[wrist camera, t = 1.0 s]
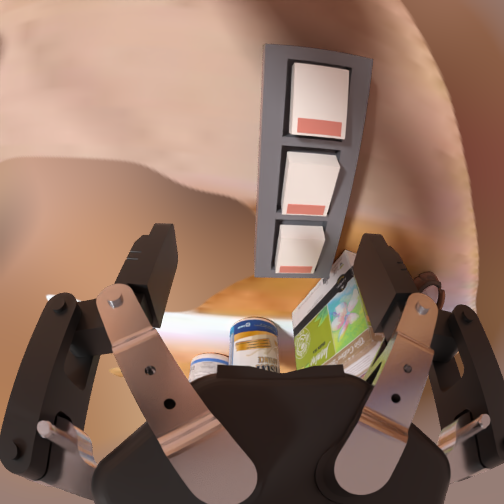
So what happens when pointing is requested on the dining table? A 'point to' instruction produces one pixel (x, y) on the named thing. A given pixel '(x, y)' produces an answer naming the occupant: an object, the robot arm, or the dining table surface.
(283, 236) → the rocker
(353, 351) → the tea box
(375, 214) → the dining table surface
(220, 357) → the supplement tub
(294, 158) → the rocker
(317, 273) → the strip housing
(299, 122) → the plate
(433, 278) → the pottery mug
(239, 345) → the beverage bottle
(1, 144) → the dining table surface
